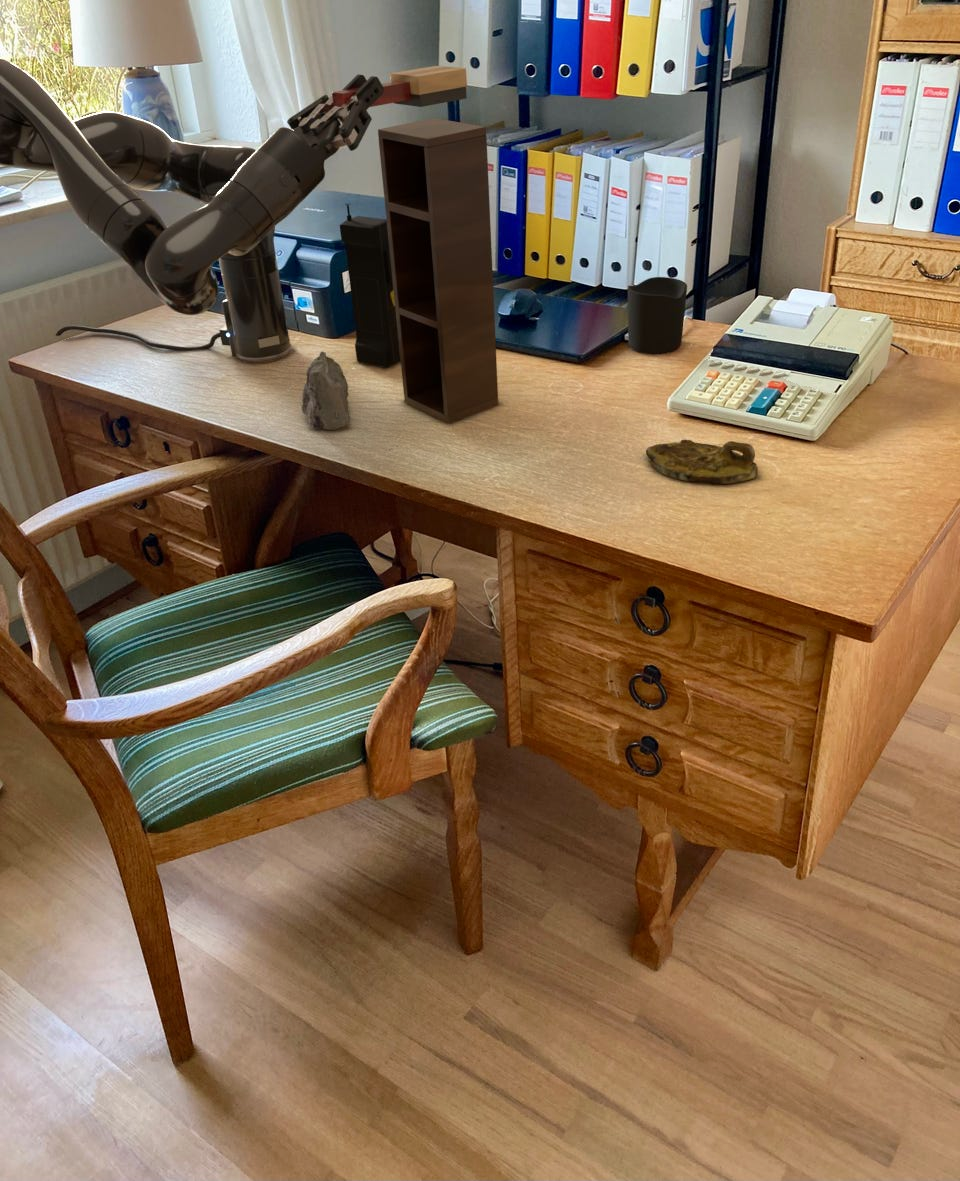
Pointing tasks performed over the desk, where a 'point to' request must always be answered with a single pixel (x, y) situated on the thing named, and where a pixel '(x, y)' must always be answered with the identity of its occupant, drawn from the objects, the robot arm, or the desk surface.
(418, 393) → the shelf
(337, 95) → the brush
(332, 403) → the mineral rock
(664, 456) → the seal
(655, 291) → the pen holder
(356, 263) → the portable radio
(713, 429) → the desk surface
